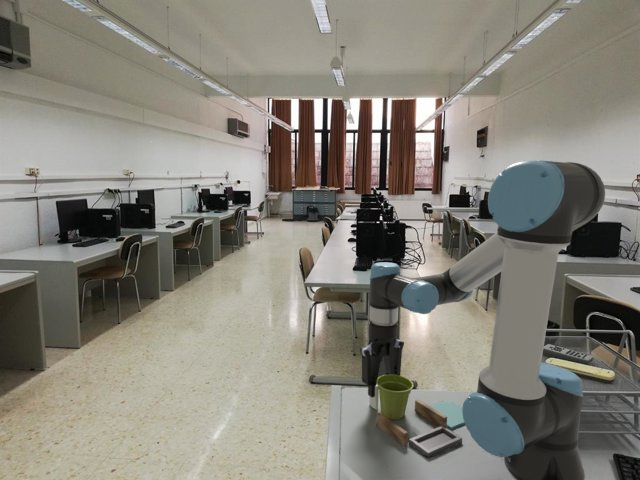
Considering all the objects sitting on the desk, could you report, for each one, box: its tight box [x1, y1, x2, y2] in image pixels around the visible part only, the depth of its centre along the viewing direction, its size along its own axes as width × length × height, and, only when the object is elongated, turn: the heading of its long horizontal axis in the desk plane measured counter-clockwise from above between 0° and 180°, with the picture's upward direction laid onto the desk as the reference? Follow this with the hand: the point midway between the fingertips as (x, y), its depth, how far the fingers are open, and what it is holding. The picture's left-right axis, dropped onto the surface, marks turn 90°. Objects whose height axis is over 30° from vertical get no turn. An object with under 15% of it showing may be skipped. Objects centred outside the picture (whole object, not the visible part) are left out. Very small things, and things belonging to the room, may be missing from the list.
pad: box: [429, 401, 465, 431], centre depth 112 cm, size 10×10×1 cm
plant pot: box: [376, 374, 414, 421], centre depth 111 cm, size 9×9×9 cm
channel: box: [376, 399, 448, 447], centre depth 106 cm, size 10×14×3 cm
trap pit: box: [408, 425, 463, 459], centre depth 99 cm, size 6×11×1 cm, turn 122°
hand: (380, 404), depth 116 cm, fingers closed on plant pot, 4 cm apart
